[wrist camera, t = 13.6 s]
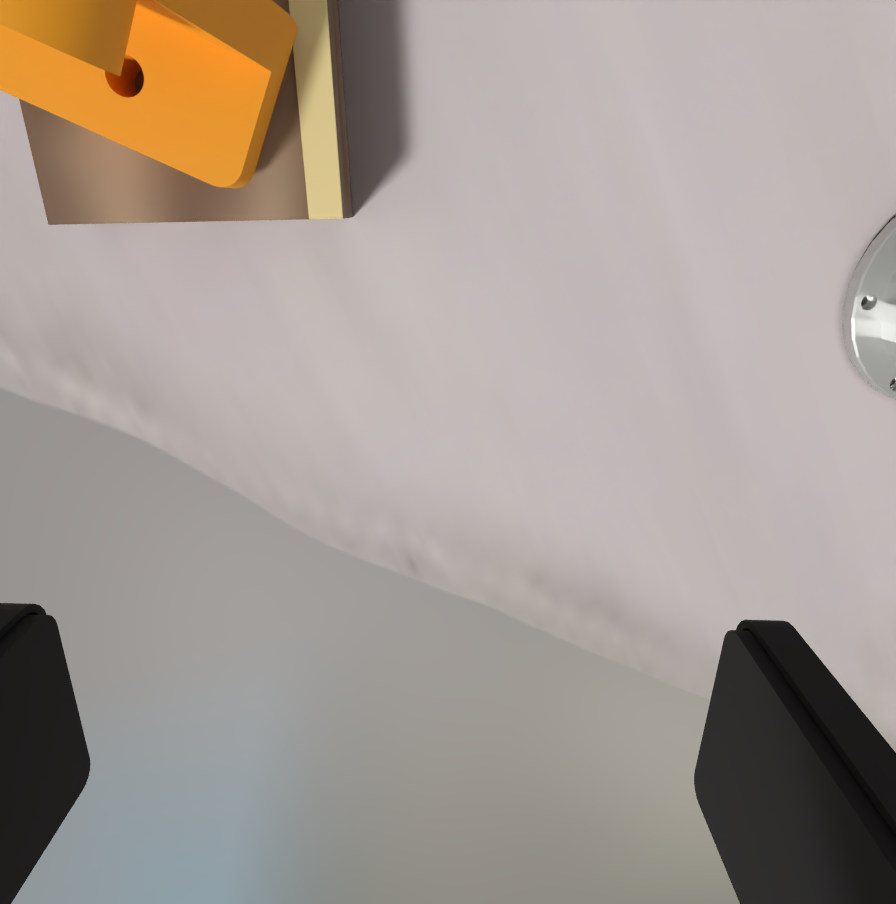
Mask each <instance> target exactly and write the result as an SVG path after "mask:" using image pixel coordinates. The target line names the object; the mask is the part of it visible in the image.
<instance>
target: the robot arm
mask: <svg viewBox="0 0 896 904" xmlns="http://www.w3.org/2000/svg"><path fill="white" fill-rule="evenodd" d="M843 332H844V340H845V346H846V349H847V352H848V354H849V357H850V360H851V362H852V364H853V366H854V367H855V369H856V370H857V372H858V373H859V375H860V376H861V377H862V378H863V379H864V380H865V381H866V382H867V383H868V384H869V385H870V386H871V387H873V388H874V389H875V390H877V391H879V392H881V393H883V394H884V395H886V396H888V397H890V398H893V399H895V400H896V217H895V218H894V219H893V220H891V221H890V222H889V223H888V224H887V225H886V226H885V228H884V229H883V230H882V231H881V232H880V233H879V234H878V236H877V237H876V238H875V239H874V240H873V241H872V243H871V244H870V246H869V247H868V249H867V251H866V252H865V254H864V255H863V257H862V258H861V260H860V262H859V263H858V266H857V268H856V270H855V273H854V275H853V277H852V279H851V282H850V284H849V288H848V292H847V296H846V300H845V304H844V314H843ZM89 771H90V757H89V753H88V749H87V745H86V741H85V737H84V733H83V729H82V725H81V720H80V717H79V712H78V708H77V704H76V700H75V696H74V692H73V688H72V683H71V680H70V675H69V671H68V667H67V663H66V659H65V655H64V651H63V647H62V642H61V638H60V634H59V630H58V626H57V623H56V620H55V619H54V618H53V617H52V616H50V615H46V612H45V610H44V609H43V608H42V607H41V606H40V605H36V604H13V603H0V904H11V903H12V901H13V899H14V898H15V896H16V895H17V893H18V892H19V890H20V888H21V887H22V885H23V884H24V882H25V881H26V879H27V877H28V876H29V874H30V873H31V871H32V869H33V868H34V866H35V865H36V863H37V861H38V860H39V858H40V857H41V855H42V854H43V852H44V850H45V849H46V847H47V846H48V844H49V843H50V841H51V839H52V838H53V836H54V835H55V833H56V831H57V830H58V828H59V827H60V825H61V823H62V822H63V820H64V819H65V817H66V816H67V814H68V812H69V811H70V809H71V808H72V806H73V805H74V803H75V801H76V800H77V798H78V797H79V795H80V793H81V792H82V790H83V788H84V786H85V785H86V782H87V779H88V776H89ZM694 784H695V791H696V796H697V800H698V803H699V805H700V808H701V810H702V813H703V815H704V817H705V819H706V822H707V824H708V827H709V829H710V832H711V834H712V837H713V839H714V842H715V844H716V846H717V849H718V851H719V854H720V856H721V859H722V861H723V863H724V866H725V868H726V871H727V873H728V876H729V878H730V880H731V883H732V885H733V888H734V890H735V892H736V895H737V897H738V900H739V902H740V904H896V753H895V751H894V750H893V749H892V748H891V747H890V745H889V744H888V743H887V742H886V740H885V739H884V738H883V737H882V735H881V734H880V733H879V732H878V731H877V729H876V728H875V727H874V726H873V724H872V723H871V722H870V721H869V719H868V718H867V717H866V716H865V714H864V713H863V712H862V711H861V710H860V708H859V707H858V706H857V705H856V703H855V702H854V701H853V700H852V698H851V697H850V696H849V695H848V694H847V692H846V691H845V690H844V689H843V687H842V686H841V685H840V684H839V682H838V681H837V680H836V679H835V677H834V676H833V675H832V674H831V673H830V671H829V670H828V669H827V668H826V666H825V665H824V664H823V663H822V661H821V660H820V659H819V658H818V657H817V655H816V654H815V653H814V652H813V650H812V649H811V648H810V647H809V645H808V644H807V643H806V642H805V640H804V639H803V638H802V637H801V636H800V634H799V633H798V632H797V631H796V629H795V628H794V627H793V626H792V625H791V624H790V623H789V622H786V621H770V620H744V621H741V622H740V623H739V625H738V626H737V629H736V630H731V631H728V632H727V633H726V635H725V638H724V641H723V646H722V651H721V655H720V660H719V664H718V669H717V673H716V678H715V682H714V687H713V691H712V696H711V700H710V706H709V710H708V714H707V719H706V723H705V728H704V732H703V737H702V741H701V746H700V750H699V755H698V760H697V764H696V769H695V775H694Z"/></svg>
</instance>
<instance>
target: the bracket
mask: <svg viewBox="0 0 896 904" xmlns="http://www.w3.org/2000/svg"><path fill="white" fill-rule="evenodd" d="M298 27H299V26H298V25H297V24H296V22H295V21H294V20H293V18H292V17H291V16H290V15H289V13H287V12H286V11H285V10H283V9H282V8H281V7H280V6H278V5H277V4H276V3H275V2H273V1H272V0H0V90H2V91H4V92H6V93H8V94H10V95H12V96H15V97H17V98H19V99H21V100H24V101H26V102H28V103H30V104H32V105H35V106H37V107H39V108H41V109H44V110H46V111H48V112H50V113H52V114H55V115H57V116H59V117H61V118H64V119H66V120H68V121H70V122H73V123H75V124H77V125H79V126H81V127H84V128H86V129H88V130H90V131H93V132H95V133H97V134H99V135H101V136H104V137H106V138H108V139H110V140H113V141H115V142H117V143H119V144H121V145H124V146H126V147H128V148H130V149H133V150H135V151H137V152H139V153H141V154H144V155H146V156H148V157H150V158H153V159H155V160H157V161H159V162H161V163H164V164H166V165H168V166H170V167H173V168H175V169H177V170H179V171H181V172H184V173H186V174H188V175H190V176H193V177H195V178H197V179H199V180H201V181H204V182H206V183H208V184H210V185H213V186H216V187H224V188H241V187H243V186H245V185H247V184H248V183H249V182H250V181H251V179H252V177H253V175H254V172H255V169H256V166H257V162H258V159H259V156H260V152H261V149H262V146H263V142H264V139H265V136H266V132H267V129H268V126H269V123H270V119H271V116H272V113H273V109H274V106H275V103H276V99H277V96H278V93H279V89H280V86H281V83H282V80H283V76H284V73H285V70H286V66H287V63H288V60H289V56H290V53H291V50H292V46H293V43H294V40H295V37H296V33H297V30H298ZM141 70H142V71H143V74H144V85H143V88H142V90H141V91H140V92H139V93H138V94H137V92H136V88H135V80H136V77H137V75H138V73H139V72H140V71H141Z"/></svg>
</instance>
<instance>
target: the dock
mask: <svg viewBox="0 0 896 904" xmlns="http://www.w3.org/2000/svg"><path fill="white" fill-rule="evenodd" d="M272 1H273V2H275V3H276V4H277V5H278V6H280V7H281V8H282V9H283V10H285V11H286V12H287V13H289V15H290V16H291V17H292V18H293V20H294V21H295V22H296V24H297V25H298V26H299V27H298V30H297V33H296V37H295V40H294V43H293V46H292V50H291V53H290V56H289V60H288V63H287V66H286V70H285V73H284V76H283V80H282V83H281V86H280V89H279V93H278V96H277V99H276V103H275V106H274V109H273V113H272V116H271V119H270V123H269V126H268V129H267V132H266V136H265V139H264V142H263V146H262V149H261V152H260V156H259V159H258V162H257V166H256V169H255V172H254V175H253V177H252V179H251V181H250V182H249V183H248V184H247V185H245V186H243V187H241V188H224V187H216V186H213V185H210V184H208V183H206V182H204V181H201V180H199V179H197V178H195V177H193V176H190V175H188V174H186V173H184V172H181V171H179V170H177V169H175V168H173V167H170V166H168V165H166V164H164V163H161V162H159V161H157V160H155V159H153V158H150V157H148V156H146V155H144V154H141V153H139V152H137V151H135V150H133V149H130V148H128V147H126V146H124V145H121V144H119V143H117V142H115V141H113V140H110V139H108V138H106V137H104V136H101V135H99V134H97V133H95V132H93V131H90V130H88V129H86V128H84V127H81V126H79V125H77V124H75V123H73V122H70V121H68V120H66V119H64V118H61V117H59V116H57V115H55V114H52V113H50V112H48V111H46V110H44V109H41V108H39V107H37V106H35V105H32V104H30V103H28V102H26V101H24V100H21V99H19V100H20V104H21V109H22V113H23V117H24V122H25V126H26V130H27V134H28V139H29V143H30V147H31V151H32V156H33V160H34V164H35V169H36V173H37V177H38V181H39V186H40V190H41V194H42V198H43V203H44V207H45V211H46V216H47V220H48V224H49V225H56V224H103V223H150V222H197V221H244V220H292V219H342V218H350V217H353V213H352V199H351V185H350V170H349V156H348V141H347V127H346V113H345V98H344V84H343V70H342V55H341V41H340V26H339V12H338V0H272ZM143 85H144V74H143V71H142V70H141V71H140V72H139V73H138V75H137V77H136V80H135V88H136V92H137V94H138V93H139V92H140V91H141V90H142V88H143Z"/></svg>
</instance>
